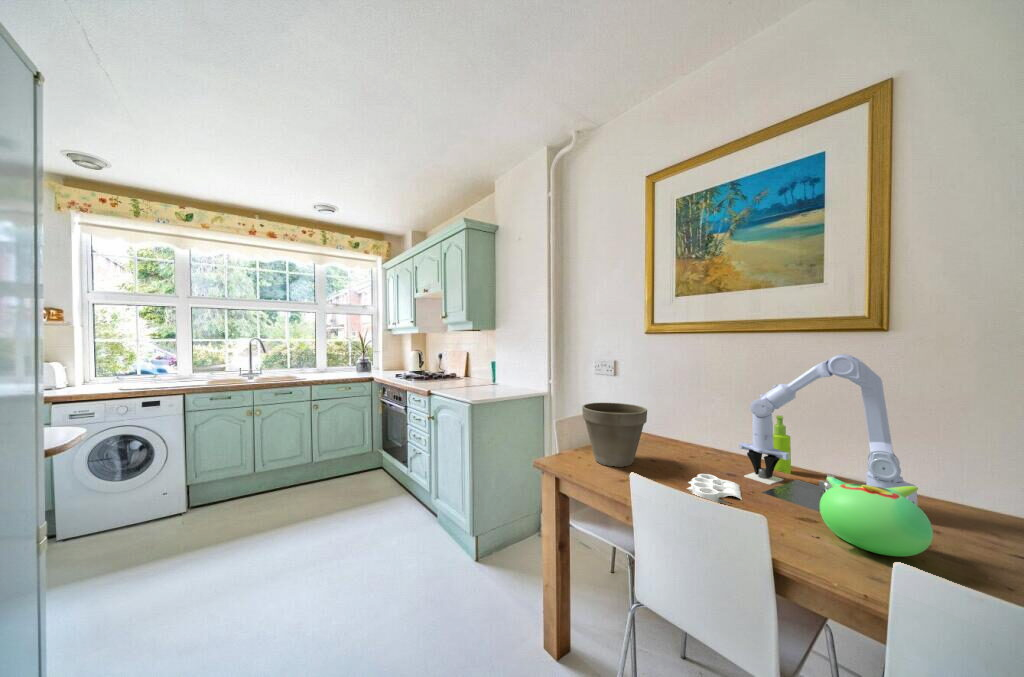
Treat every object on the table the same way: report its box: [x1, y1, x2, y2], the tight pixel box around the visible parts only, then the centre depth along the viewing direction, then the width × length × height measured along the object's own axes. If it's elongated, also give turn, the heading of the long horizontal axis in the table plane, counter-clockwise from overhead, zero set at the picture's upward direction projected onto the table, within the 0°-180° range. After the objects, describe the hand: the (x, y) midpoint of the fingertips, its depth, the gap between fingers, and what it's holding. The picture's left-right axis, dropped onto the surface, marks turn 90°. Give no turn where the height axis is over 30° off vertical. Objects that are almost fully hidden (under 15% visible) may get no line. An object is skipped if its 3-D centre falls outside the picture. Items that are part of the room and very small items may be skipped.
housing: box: [761, 479, 825, 512], centre depth 108 cm, size 14×21×2 cm, turn 118°
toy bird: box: [819, 476, 934, 558], centre depth 82 cm, size 18×17×15 cm
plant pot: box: [581, 402, 648, 468], centre depth 144 cm, size 25×25×22 cm
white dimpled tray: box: [686, 473, 743, 506], centre depth 112 cm, size 3×18×15 cm
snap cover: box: [743, 467, 784, 486], centre depth 120 cm, size 8×8×4 cm
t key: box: [818, 473, 836, 492], centre depth 111 cm, size 11×4×3 cm, turn 135°
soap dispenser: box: [773, 414, 792, 475], centre depth 131 cm, size 6×7×20 cm
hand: (763, 475), depth 121 cm, fingers open, 3 cm apart
